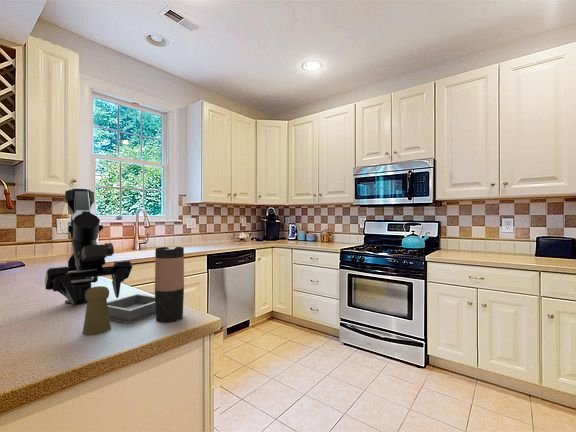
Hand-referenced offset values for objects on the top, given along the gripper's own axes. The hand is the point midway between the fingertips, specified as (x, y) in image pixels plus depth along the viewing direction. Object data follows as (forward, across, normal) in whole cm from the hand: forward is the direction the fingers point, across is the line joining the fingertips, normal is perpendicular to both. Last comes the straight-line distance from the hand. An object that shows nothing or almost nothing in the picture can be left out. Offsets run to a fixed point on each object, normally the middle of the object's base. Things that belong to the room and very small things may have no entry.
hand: (97, 300), depth 74 cm
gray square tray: (0, +11, +11) cm, 16 cm away
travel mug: (+8, +17, +3) cm, 19 cm away
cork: (+5, 0, +6) cm, 8 cm away
